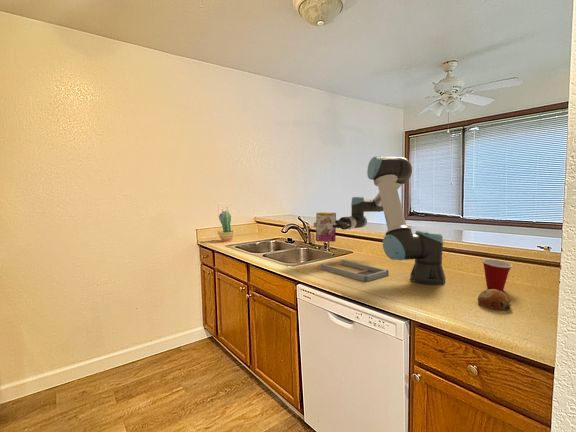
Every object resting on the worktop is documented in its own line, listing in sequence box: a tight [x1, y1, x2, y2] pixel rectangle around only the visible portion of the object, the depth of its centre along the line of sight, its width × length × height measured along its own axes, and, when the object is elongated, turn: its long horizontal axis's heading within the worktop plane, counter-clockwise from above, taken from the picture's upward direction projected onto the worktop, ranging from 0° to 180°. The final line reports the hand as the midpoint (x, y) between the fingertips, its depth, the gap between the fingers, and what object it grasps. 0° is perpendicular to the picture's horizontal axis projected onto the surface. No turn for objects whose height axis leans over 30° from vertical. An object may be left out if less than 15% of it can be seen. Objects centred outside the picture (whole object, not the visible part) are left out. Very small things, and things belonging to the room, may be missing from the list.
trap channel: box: [320, 258, 390, 283], centre depth 162 cm, size 31×18×2 cm, turn 38°
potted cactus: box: [217, 210, 237, 243], centre depth 258 cm, size 15×15×25 cm
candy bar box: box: [315, 211, 337, 243], centre depth 177 cm, size 11×5×16 cm, turn 85°
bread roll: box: [477, 289, 512, 312], centre depth 115 cm, size 10×10×8 cm
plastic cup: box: [482, 258, 513, 292], centre depth 133 cm, size 11×11×12 cm
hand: (320, 225), depth 175 cm, fingers closed on candy bar box, 11 cm apart
